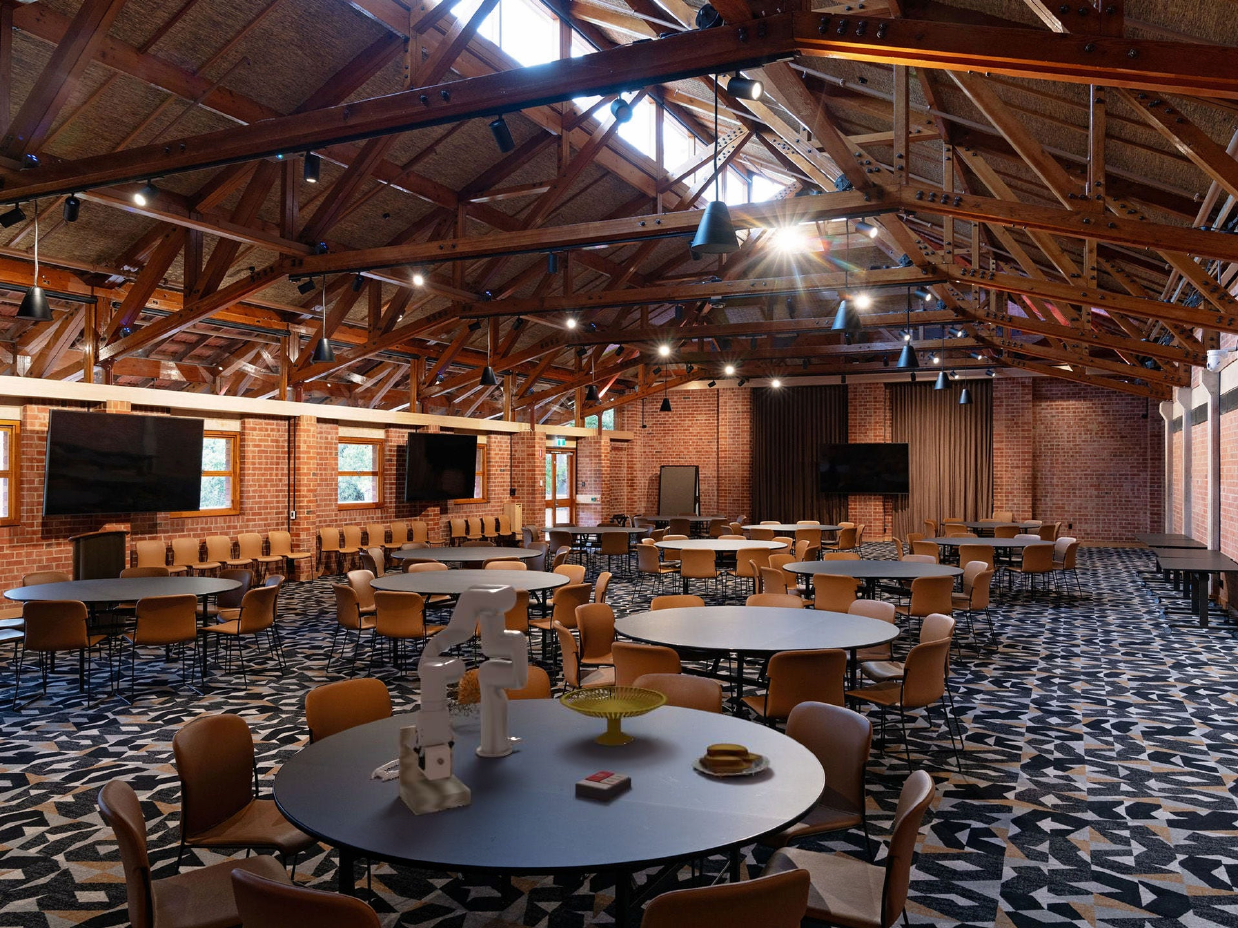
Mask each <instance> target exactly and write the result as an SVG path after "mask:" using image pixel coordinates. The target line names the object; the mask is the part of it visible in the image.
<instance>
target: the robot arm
mask: <svg viewBox="0 0 1238 928" xmlns="http://www.w3.org/2000/svg"><path fill="white" fill-rule="evenodd" d="M517 597H518V596H517V590H516V589H515V588H514V586H512V585H510V584H491V583H490V584H488V583H485V584H484V583H483V584H482V583H479V584H471V585H470V586H469V587H468V588H467V589H466V590H464V591H462V593H461V594H460V595H459V597H458V600H457V602H456V605H455V607H454V610H453V613H452V615H451V618H450V620H449V622H448V625H446V627H445V628H443V629H442V630H440V631H439V632H438V633H436V635H434V636H433V637H432V638H431V639H430V640H428V643H426V645H425V647H424V649H423V651H422V654H421V656H420V659H419V661H418V665H417V675H418V678H420V709H418V710H417V713H416V718H415V724H414V725H415V735H414V736H413V737H412V739H411V740H410V741H409V742H408V744H407V746H408V747H410V748H411V749H412V750H413V751H414V752H415V753H417V754H418V766H419V767H420V768H421V769H422V770H425V756H424V752H425V748H426V746H432V745H438V744H445V745H446V746H448V747H449V748H450V749H451V748H452V747H454V746H455V744H456V743H457V742H458V741H459V739H460V735H458V733H456V732H455V731H454V730H451V719H452V718H450V717H451V715H450V713H451V712H450V713H449V711H450V710H449V709H448V707H447V705H448V704H452V702H451V699H450V698H448V691H447V690H448V684H450V685H452V684H454V683H455V684H457V683H458V681H459V682H461V681H462V680H463V679H464V678H463V676H464V677H465V675H466V674H465V672H466V664H465V662H464V661H463V660H462V659H461V658H458V657H452V656H451V657H448V656H447V657H446V656H439V655H440V654H441V653H443V651H446V650H447V649H448V648H451V647H454V646H456V645H459V644H461V643H464V642H467V641H468V640H470V639H472V637H473V635H474V633H475V631H476V629H477V625H478V624H479V623H478V622H479V621H480V639H481V640H480V642H481V644H480V645H481V651H482V654H483V655H484V656H485V657H488V658H499V659H510V660H499V659H498V660H497V659H491V660H486V661H483V662H482V663H481V664H480V665H479V667H478V671H477V680H478V684H479V688H480V690H479V693H481V694H480V697H481V698H480V746H478V747H477V748H476V750H475V752H476V754H477V756H480V757H483V758H501V757H504V756H508V755H510V754H512V753H513V752H514V751H513V750H514V749H513V748H514V747H513V746H514V745H520V744H522V738H521V737H518V738H517V737H510V736H509V699H508V696H507V694H506V692H505V690H507V689H508V690H523V689H524V688H525V687H526V686H527V684H528V681H529V666H528V664H529V656H528V654H529V653H528V640H527V638H526V635H525V634H524V633H523V631H520V630H509V629H507V628H506V617H505V613H507V612H510V610H512V609H513V608H514V607H515V605H516V602H517ZM460 680H461V681H460ZM451 738H452V739H451ZM415 742H416V743H418V744H419V747H418V748H417V747H415V746H414V743H415Z"/></svg>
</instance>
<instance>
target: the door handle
mask: <svg viewBox="0 0 1238 928" xmlns="http://www.w3.org/2000/svg"><path fill="white" fill-rule="evenodd" d="M398 764H399V758H398V759H395V760H392V761H390V762H388V763H386V764H383V765H382V766H379V767H377V768H375V769H374V770H373V772H372V773H371V779H372V780H374V779H375V778H377V777H376V776H378V777H379V778H381V780H380V781H382V782H384V781H389V780H388V779H391V780H393V779H392V778H394V779H396V778H399V777H398V776H399V769H398V770H390V771H388V770H389V769H388V768H390V769H392V768H391V767H393V768H395V767H396V766H395V765H397V766H399V765H398ZM394 766H395V767H394ZM387 769H388V770H387ZM384 770H386V771H384ZM374 777H375V778H374ZM395 777H396V778H395Z"/></svg>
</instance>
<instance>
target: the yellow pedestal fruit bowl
mask: <svg viewBox="0 0 1238 928" xmlns="http://www.w3.org/2000/svg"><path fill="white" fill-rule="evenodd" d="M605 690H606V691H605ZM601 692H602V693H601ZM610 692H611V693H610ZM640 692H641V693H640ZM614 693H615V694H614ZM606 694H607V695H606ZM610 694H611V695H610ZM618 694H619V695H618ZM622 695H623V696H622ZM630 695H631V696H630ZM558 701H559V702H560V704H561V705H562V706H564V707H566V708H568V709H570V710H572V711H575V712H577V713H579V714H580V715H584V716H587V717H592V718H598V719H599V718H601V719H603V718H604V719H606V721H607V722H606V732H603V733H602V734H600V735H598V736H596V737H595V738H594V741H595V742H596V743H597V744H599V743H601V744H600V745H603V744H604V746H613V745H614V746H622V745H621V744H624V743H628V744H630V743H629V742H630V741H632V739H633V740H634V738H633V736H631V735H629V734H626V733H625V732H623V731H622V718H624V719H626V718H628V719H629V718H633V717H634V718H635V717H639V716H644V715H646V714H648V713H650V712H652V711H654V710H655V711H656V709H659V708H661V707H663V706H665V705H666V704H667V703H668V702H669V697H668V696H667V695H666V694H664V693H662V692H659V691H656V690H653V689H649V688H644V687H635V686H620V685H619V686H618V685H617V686H615V685H614V686H598V687H596V686H595V687H586V688H581V689H577V690H573V691H570V692H567V693H564V694H562V695H561V696H560V698H559V699H558ZM632 742H633V741H632Z"/></svg>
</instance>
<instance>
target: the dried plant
mask: <svg viewBox="0 0 1238 928" xmlns="http://www.w3.org/2000/svg"><path fill="white" fill-rule="evenodd" d="M480 658H481V657H480V656H478V657H477V659H478V660H477V659H475V662H474V666H473V668H472V669H474V668H475V667H476V666H477V665H478V663H479V661H480V660H481V659H480ZM490 658H491V660H493V657H490ZM530 666H534V663H531V665H530V664H529V663H528V668H529V667H530ZM474 673H475V671H473V672H472V670H469V671H467V672H466V671H465V674H464V676H463V678H462V679H463V680H464V681H465V682H467V683H465V682H464V683H463V685H465V686H463V685H462V683H461V682H462V679H461V680H460V681H458V682H456V683H453V685H452V684H447V688H449V689H447V694H448V695H447V699H451V703H450V704H448V705H447V707H448V709H449V713H450V719H452V717H454V716H456V717H459V716H464V717H467V718H469V716H470V717H471V718H474V720H477V721H478V719H479V717H477V716H475V717H474V716H472V715H470V714H469V712H470V713H471V714H473V713H474V712H476V715H478V714H479V715H480V711H481V708H478V709H477V702H479V703H481V700H480V701H478V699H481V696H478V697H476V695H481V692H480V684H479V679H478V677H477V678H476V679H475V678H473V679H472V676H473V675H474ZM470 675H471V676H470ZM466 677H467V678H468V679H467V678H466ZM475 681H476V682H475ZM461 687H462V688H463V689H461ZM467 687H469V688H470V690H469V689H468V688H467ZM505 690H506V692H508V691H509V689H505ZM455 691H456V692H455ZM463 692H464V693H463ZM459 696H461V697H462V698H461V699H458V698H459ZM466 698H467V700H466ZM454 699H455V700H454ZM457 699H458V700H457ZM453 701H454V702H453ZM472 702H473V704H472ZM471 705H472V707H470V706H471ZM455 711H456V713H455ZM451 712H452V713H451ZM459 713H460V714H459ZM462 713H463V714H462Z"/></svg>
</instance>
